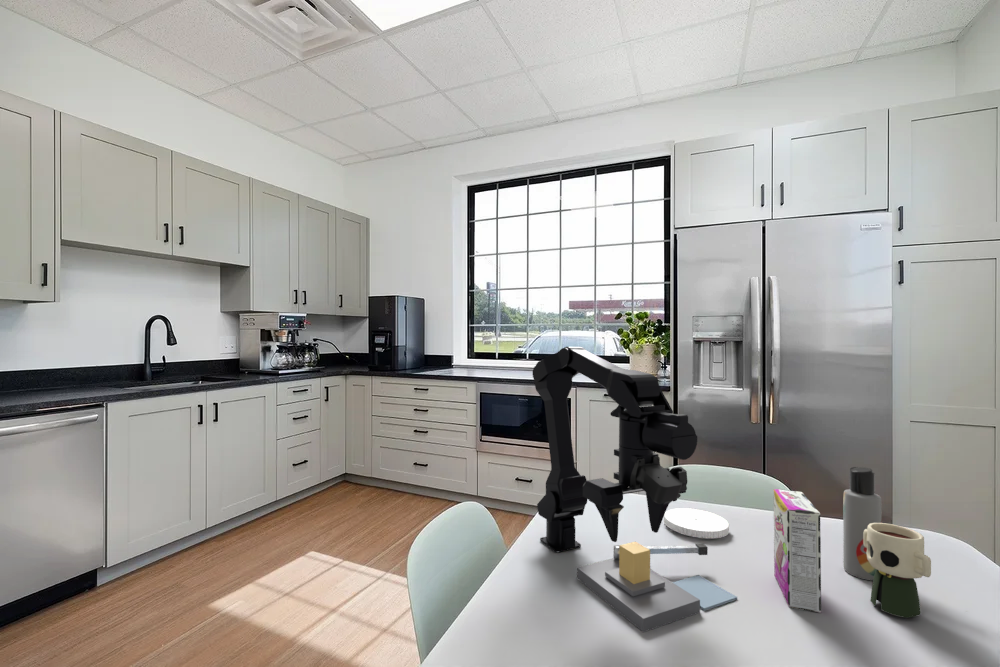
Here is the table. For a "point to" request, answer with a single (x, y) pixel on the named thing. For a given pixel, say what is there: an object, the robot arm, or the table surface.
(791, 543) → the candy bar box
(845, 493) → the lotion bottle
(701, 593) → the mat
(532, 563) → the table surface
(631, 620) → the socket plate
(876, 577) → the character mug
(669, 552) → the metal lever bar
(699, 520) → the plastic lid
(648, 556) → the plug
